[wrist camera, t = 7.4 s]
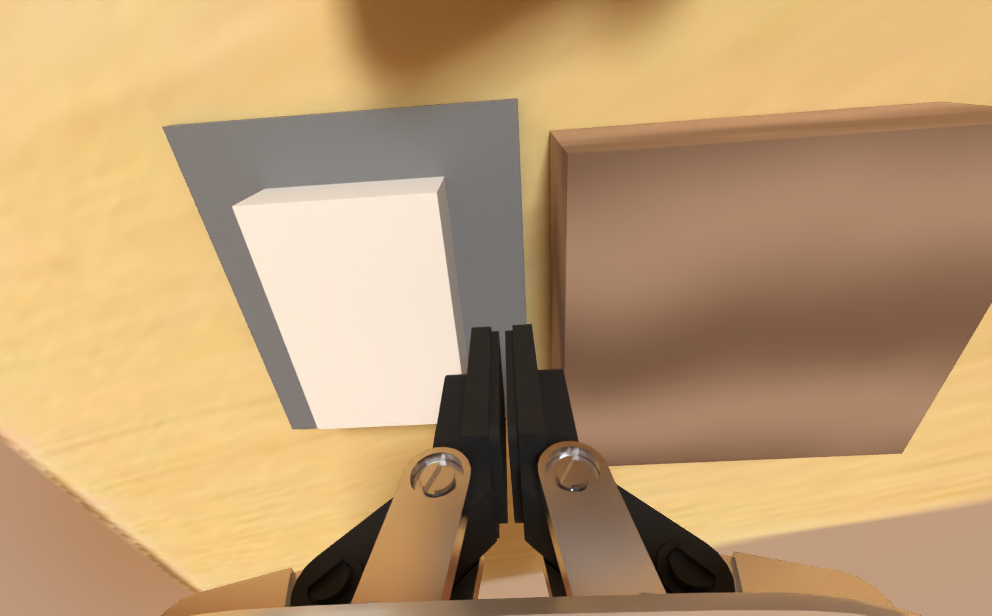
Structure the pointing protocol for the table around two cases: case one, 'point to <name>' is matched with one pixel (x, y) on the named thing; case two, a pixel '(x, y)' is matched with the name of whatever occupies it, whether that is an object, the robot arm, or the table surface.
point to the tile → (362, 295)
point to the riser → (767, 278)
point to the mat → (363, 158)
